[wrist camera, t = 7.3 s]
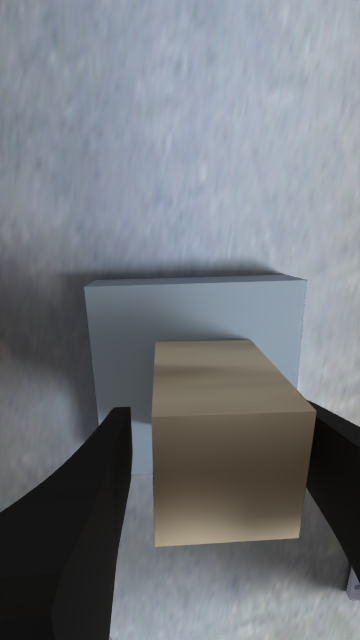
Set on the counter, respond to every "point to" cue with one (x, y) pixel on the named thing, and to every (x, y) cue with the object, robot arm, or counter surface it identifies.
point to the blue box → (183, 333)
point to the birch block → (226, 445)
